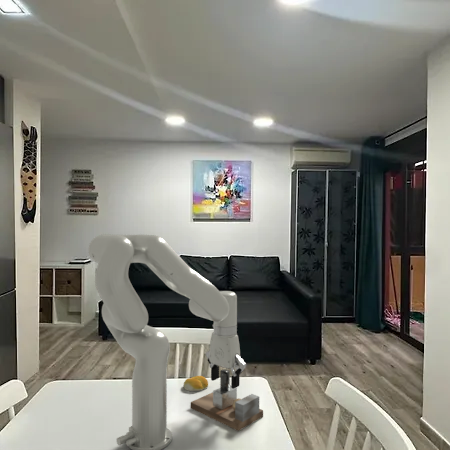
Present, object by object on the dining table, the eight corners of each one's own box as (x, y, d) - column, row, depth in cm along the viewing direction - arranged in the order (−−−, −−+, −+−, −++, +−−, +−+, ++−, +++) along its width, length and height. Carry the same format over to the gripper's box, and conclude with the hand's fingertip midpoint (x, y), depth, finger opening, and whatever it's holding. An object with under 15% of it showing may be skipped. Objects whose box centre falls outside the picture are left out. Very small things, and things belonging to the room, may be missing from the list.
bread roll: (212, 387, 150) (212, 376, 150) (194, 394, 143) (194, 383, 143) (197, 380, 155) (197, 370, 155) (179, 387, 149) (179, 377, 149)
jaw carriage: (222, 409, 126) (222, 375, 126) (212, 405, 129) (213, 372, 128) (236, 402, 131) (236, 369, 131) (227, 398, 134) (227, 366, 134)
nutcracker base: (238, 431, 118) (238, 407, 118) (190, 408, 132) (190, 387, 132) (263, 416, 127) (263, 394, 127) (215, 396, 141) (215, 376, 141)
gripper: (198, 327, 133) (198, 379, 133) (237, 337, 121) (237, 394, 121) (214, 323, 138) (214, 373, 138) (253, 332, 126) (253, 387, 126)
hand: (225, 383), depth 130 cm, fingers open, 8 cm apart
